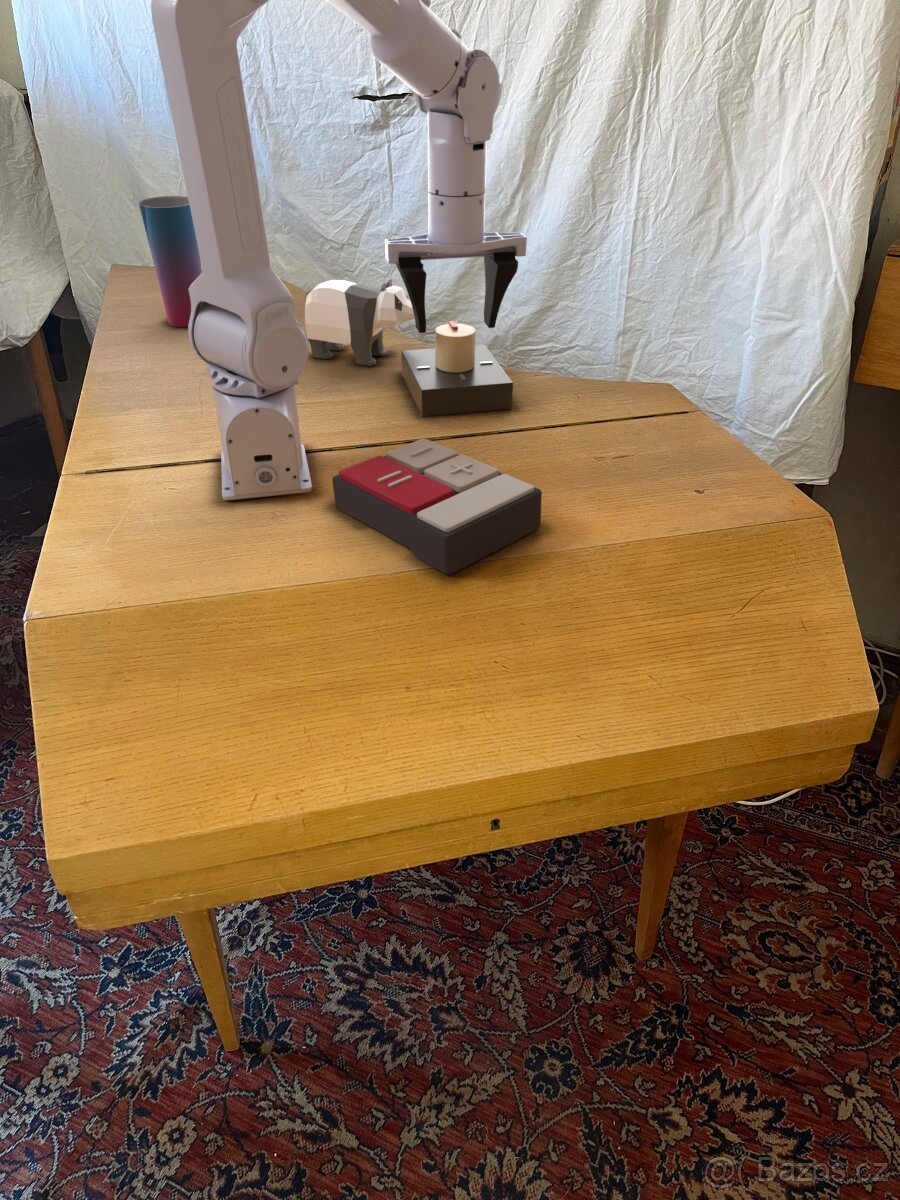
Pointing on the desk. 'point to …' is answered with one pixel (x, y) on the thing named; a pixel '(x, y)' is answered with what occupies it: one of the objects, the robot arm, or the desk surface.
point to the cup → (173, 252)
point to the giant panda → (353, 317)
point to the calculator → (439, 503)
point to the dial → (455, 347)
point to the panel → (456, 384)
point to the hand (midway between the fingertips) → (455, 327)
